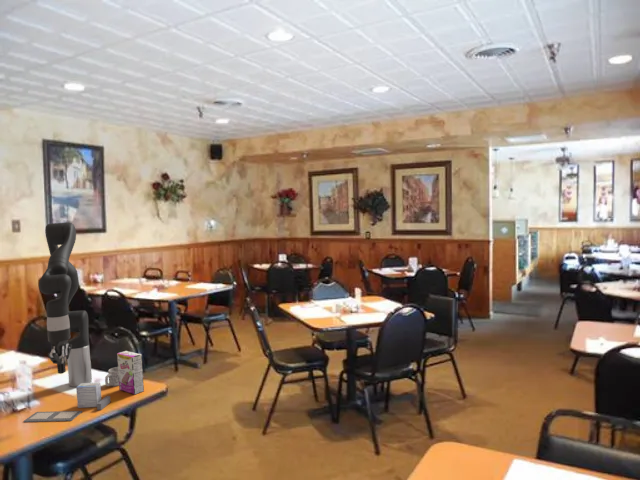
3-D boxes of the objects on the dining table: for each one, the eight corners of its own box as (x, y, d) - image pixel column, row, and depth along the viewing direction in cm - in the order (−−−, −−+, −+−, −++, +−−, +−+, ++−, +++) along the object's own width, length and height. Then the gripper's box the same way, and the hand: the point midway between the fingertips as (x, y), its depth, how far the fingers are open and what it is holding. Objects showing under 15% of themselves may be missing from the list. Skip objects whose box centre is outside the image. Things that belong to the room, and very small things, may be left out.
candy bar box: (118, 390, 214) (116, 353, 213) (128, 386, 218) (126, 350, 217) (134, 395, 208) (132, 356, 207) (144, 391, 212) (142, 353, 211)
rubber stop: (106, 402, 201) (106, 396, 201) (110, 402, 201) (110, 396, 201) (97, 410, 193) (96, 403, 193) (101, 410, 193) (100, 403, 193)
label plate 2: (59, 412, 192) (59, 411, 192) (82, 412, 192) (82, 410, 192) (47, 421, 184) (47, 419, 184) (71, 420, 184) (71, 419, 184)
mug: (116, 380, 227) (115, 366, 227) (128, 381, 225) (127, 367, 225) (100, 388, 218) (99, 373, 218) (112, 389, 216) (111, 374, 215)
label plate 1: (36, 413, 193) (36, 411, 193) (59, 412, 192) (59, 411, 192) (23, 422, 185) (23, 420, 185) (47, 421, 184) (47, 419, 184)
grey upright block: (102, 403, 201) (100, 382, 200) (97, 407, 196) (96, 386, 196) (82, 403, 201) (81, 383, 200) (77, 408, 196) (75, 387, 196)
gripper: (58, 331, 179) (61, 378, 180) (77, 323, 192) (80, 367, 194) (38, 332, 179) (41, 379, 181) (58, 323, 193) (61, 367, 194)
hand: (61, 372), depth 187 cm, fingers closed
